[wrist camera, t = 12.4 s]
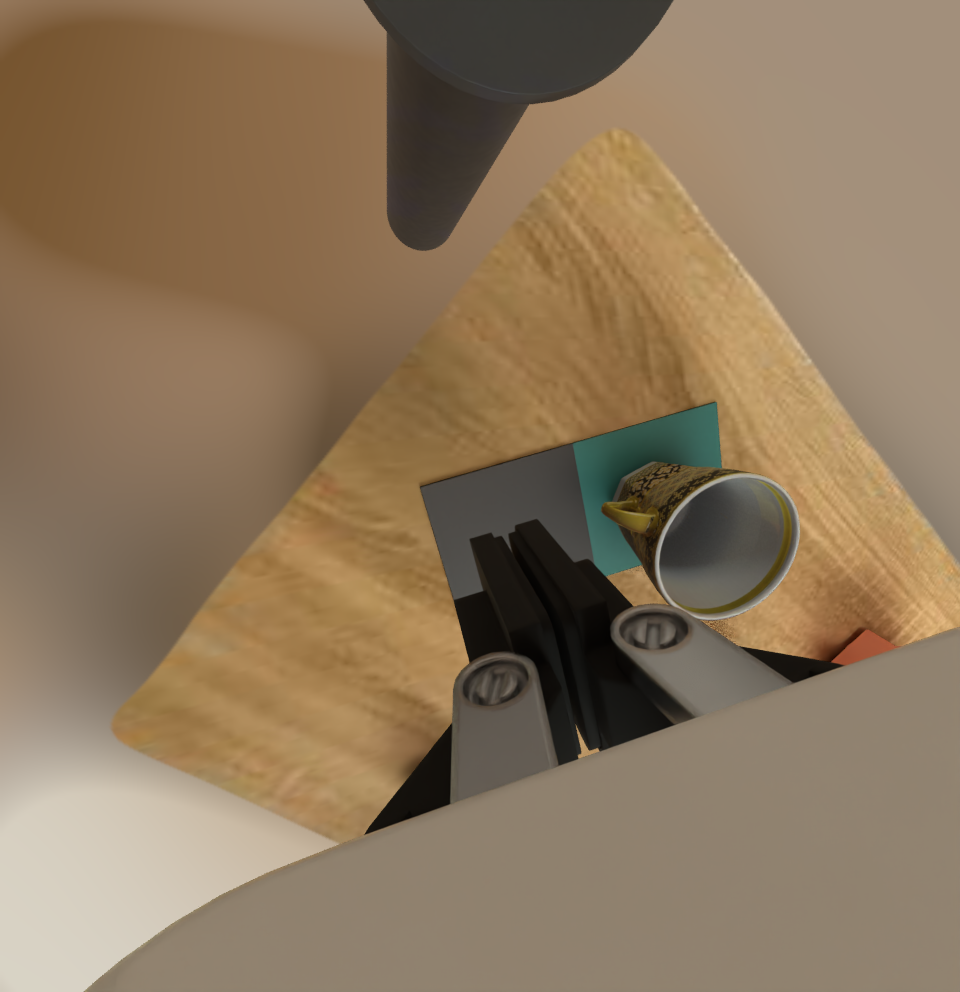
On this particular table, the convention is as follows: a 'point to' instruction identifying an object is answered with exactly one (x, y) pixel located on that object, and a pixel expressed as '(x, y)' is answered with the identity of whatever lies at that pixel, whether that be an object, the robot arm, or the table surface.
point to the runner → (563, 493)
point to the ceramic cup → (707, 535)
